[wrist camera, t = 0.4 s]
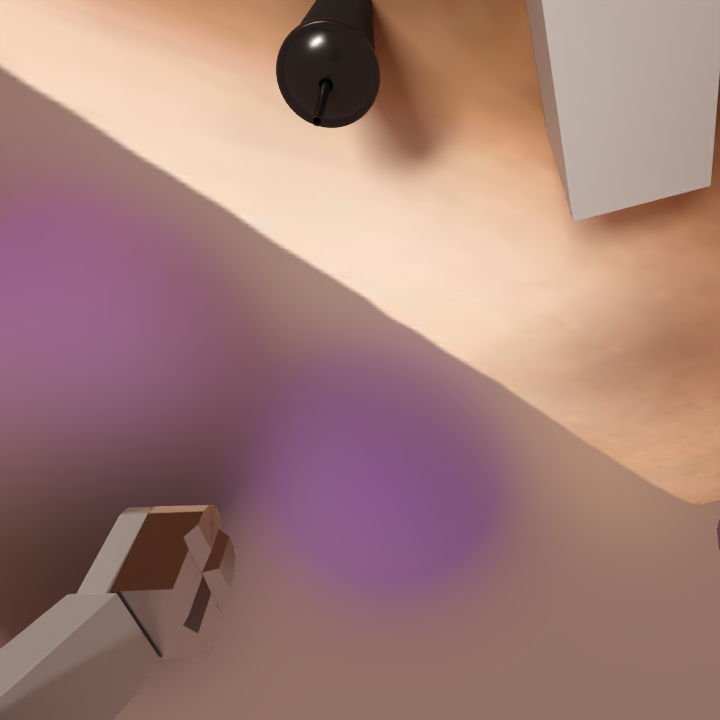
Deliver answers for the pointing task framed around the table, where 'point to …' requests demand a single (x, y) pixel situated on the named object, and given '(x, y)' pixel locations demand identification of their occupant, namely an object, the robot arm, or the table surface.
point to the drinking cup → (330, 64)
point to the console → (628, 97)
